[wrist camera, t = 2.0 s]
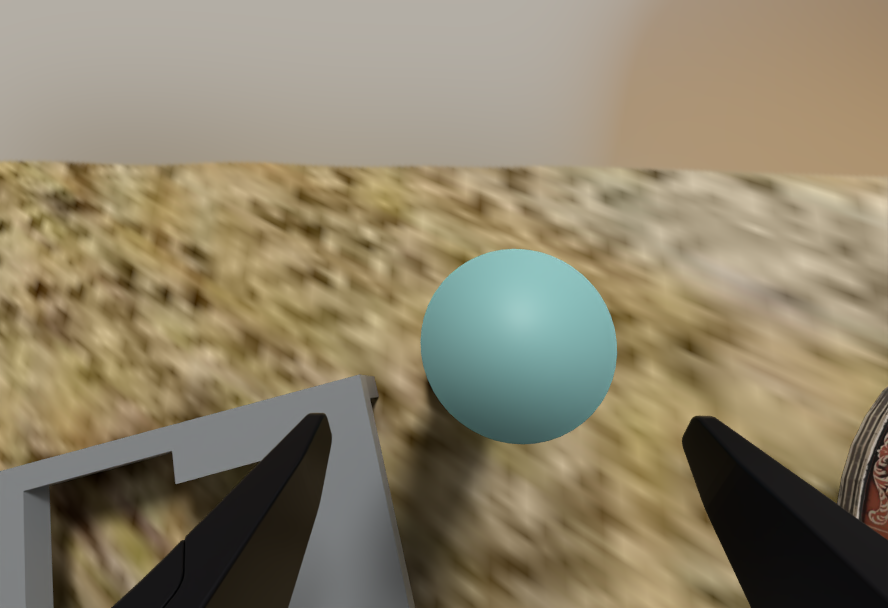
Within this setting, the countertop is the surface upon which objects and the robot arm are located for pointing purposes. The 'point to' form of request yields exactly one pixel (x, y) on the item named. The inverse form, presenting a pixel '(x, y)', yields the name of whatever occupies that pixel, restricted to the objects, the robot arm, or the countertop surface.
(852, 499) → the lighter
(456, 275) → the peg
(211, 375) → the countertop surface
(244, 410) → the keyhole plate
